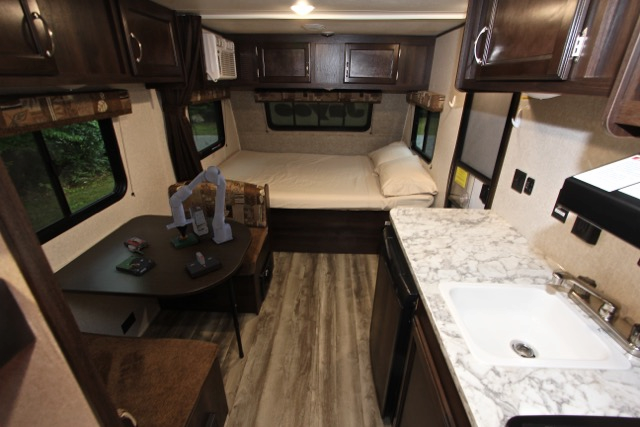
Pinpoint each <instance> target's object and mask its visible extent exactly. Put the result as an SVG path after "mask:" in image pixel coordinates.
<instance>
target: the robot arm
mask: <svg viewBox="0 0 640 427" xmlns="http://www.w3.org/2000/svg"><path fill="white" fill-rule="evenodd" d="M221 171H222V170H221V169H219V168H218V167H217V166H215V165H210V166H208V167H207V168H206V169H204V170H202V171H201V172H200V173H199V174H198V175H197V176H196V177H194V179H193V180H192V181H191V182H190V183H189V184H188V185H183V186H182V185H181V186H180V187H179V190H177V191H176V192H174V193H173V194H172V196H171V197H170V198H169V200H168V204H169V206H170V207H171V211H172V212H171V213H172V216H173V222H172V223H170V224H167V225H166V229H167V230H168V231H169V230H171V229H174V228H176V230H178V232H179V233H180V235H182V237H185V234H187V230H188V225H189V224H192V223H194V222H195V221H194V219H193V218H192V219H191V218H188V219H186V215H185V209H184V206H183V202H184V201H185V200H187V198H189V197H190V196H191V195H192V194H193V190H194V189H195V188H196V187H198V186H199V185H200V184H201V183H207V182H209V183H211V184H213V185H214V186H215V187H216V194H215V205H214V208H215V209H214V215H213V220H212V221H211V226H212V229H213V236H214V237H212V240H213V241H214V242H215V243H216V244H217V245H219V244H222V243H225V242H228V241H231V240H233V239H234V237H233V234H232V233H233V232H232V228H231V225H230V224H229V223H225V220H226V215H225V198H226V187H227V181H226V179H225V177H224V175H223V174H222V172H221Z"/></svg>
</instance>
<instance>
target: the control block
mask: <svg viewBox="0 0 640 427" xmlns="http://www.w3.org/2000/svg"><path fill="white" fill-rule="evenodd" d="M185 235H187V237H186V238H184V239H181V238H180V236H182V235H181V234H178V236H177V237H174V238H171V239H170V242H171V244H172V246H174V248H175V249H176V250H179V249H182V248H186V247H189V246H191V245H192V246H193V245H195V244H198V243H199V239H198V238H197V237H196V236H195V235H194V234H193V232H190V233H185Z"/></svg>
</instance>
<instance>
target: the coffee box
mask: <svg viewBox="0 0 640 427" xmlns="http://www.w3.org/2000/svg"><path fill="white" fill-rule="evenodd" d="M188 210H189V214H190V219H192V218H193V219H194V221H195V222H194V223H191V224H192V229H193V232H194V233H195V234H196V235H197V236H198V237H200V236H203V235H207V234H209V228H208V221H207V216H206V210H205V209H204V208H203V207H202V206H201V205H200V204H198V205H194V206H190V207H188Z"/></svg>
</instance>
